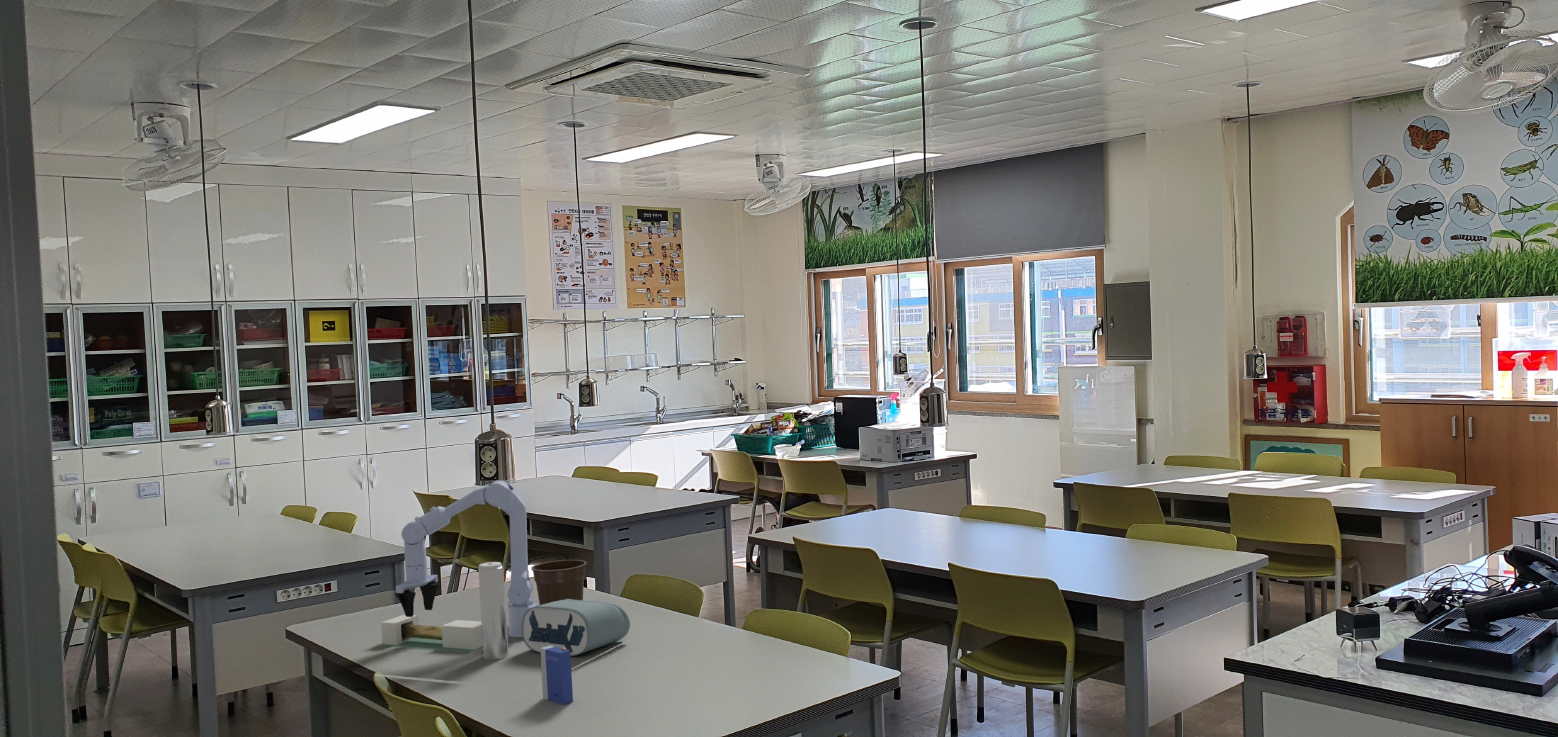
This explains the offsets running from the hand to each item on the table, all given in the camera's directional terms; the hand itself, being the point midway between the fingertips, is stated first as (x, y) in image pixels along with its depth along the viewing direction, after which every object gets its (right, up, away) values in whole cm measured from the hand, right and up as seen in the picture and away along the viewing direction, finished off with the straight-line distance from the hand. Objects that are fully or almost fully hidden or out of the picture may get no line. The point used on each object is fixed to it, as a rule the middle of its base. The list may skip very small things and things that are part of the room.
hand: (419, 612), depth 306 cm
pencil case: (+47, -7, -13) cm, 49 cm away
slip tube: (+4, -7, -1) cm, 8 cm away
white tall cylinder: (+26, -8, -19) cm, 33 cm away
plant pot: (+36, -7, +22) cm, 42 cm away
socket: (-6, -8, +3) cm, 11 cm away
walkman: (+50, -7, -57) cm, 76 cm away
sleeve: (+15, -7, -6) cm, 17 cm away
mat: (+5, -8, -2) cm, 10 cm away
